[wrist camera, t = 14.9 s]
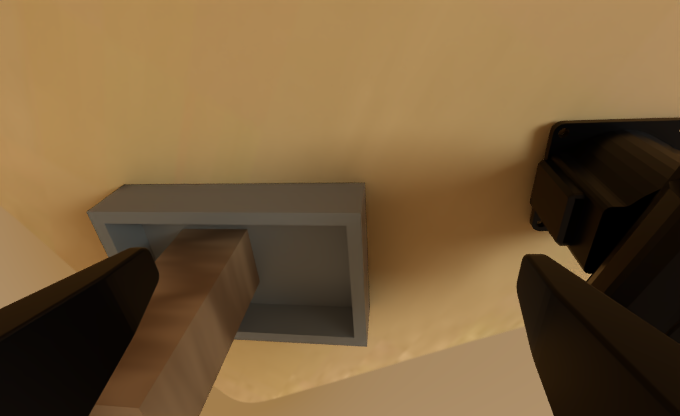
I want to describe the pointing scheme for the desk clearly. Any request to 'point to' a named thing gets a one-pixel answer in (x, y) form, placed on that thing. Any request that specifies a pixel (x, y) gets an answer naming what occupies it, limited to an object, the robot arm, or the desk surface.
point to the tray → (265, 248)
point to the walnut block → (184, 326)
